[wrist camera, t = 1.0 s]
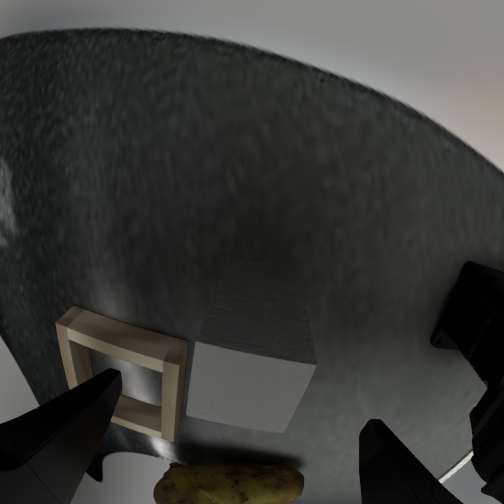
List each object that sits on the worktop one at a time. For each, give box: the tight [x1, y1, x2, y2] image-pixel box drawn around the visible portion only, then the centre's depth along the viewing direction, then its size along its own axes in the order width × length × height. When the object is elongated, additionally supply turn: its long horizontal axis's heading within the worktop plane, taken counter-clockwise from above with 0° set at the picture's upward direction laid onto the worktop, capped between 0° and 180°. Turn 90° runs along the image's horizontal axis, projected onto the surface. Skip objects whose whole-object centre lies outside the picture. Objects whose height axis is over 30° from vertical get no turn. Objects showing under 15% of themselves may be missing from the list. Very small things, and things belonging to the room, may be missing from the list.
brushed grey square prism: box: [186, 256, 317, 434], centre depth 14 cm, size 4×4×8 cm
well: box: [56, 306, 189, 442], centre depth 19 cm, size 9×9×2 cm
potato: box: [154, 462, 304, 504], centre depth 20 cm, size 8×13×8 cm, turn 63°
